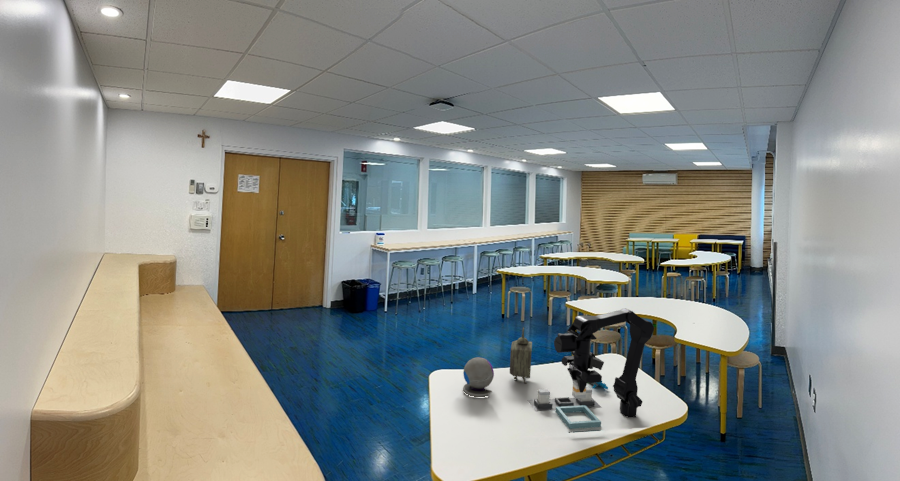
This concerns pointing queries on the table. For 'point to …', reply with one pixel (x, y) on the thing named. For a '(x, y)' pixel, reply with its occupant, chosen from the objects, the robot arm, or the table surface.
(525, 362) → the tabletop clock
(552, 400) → the fuse holder
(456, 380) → the table surface
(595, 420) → the tray
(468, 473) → the table surface
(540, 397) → the block
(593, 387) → the gear
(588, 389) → the white fuse right
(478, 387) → the webcam
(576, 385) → the marked fuse
